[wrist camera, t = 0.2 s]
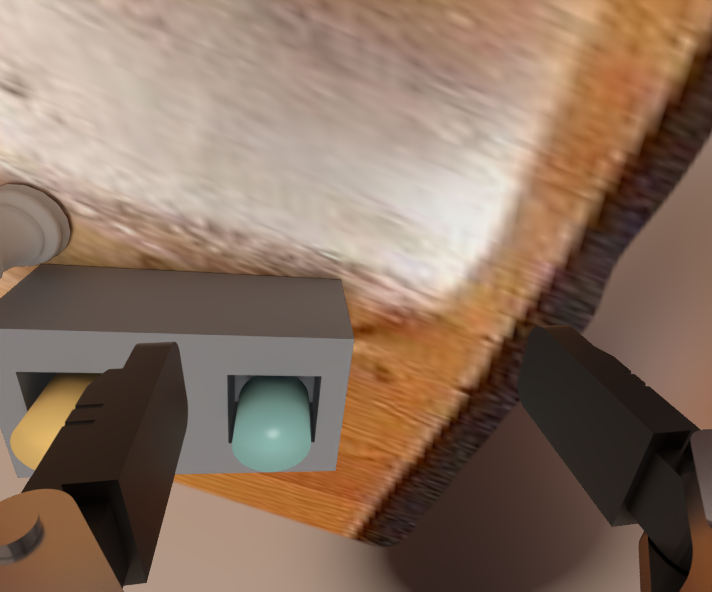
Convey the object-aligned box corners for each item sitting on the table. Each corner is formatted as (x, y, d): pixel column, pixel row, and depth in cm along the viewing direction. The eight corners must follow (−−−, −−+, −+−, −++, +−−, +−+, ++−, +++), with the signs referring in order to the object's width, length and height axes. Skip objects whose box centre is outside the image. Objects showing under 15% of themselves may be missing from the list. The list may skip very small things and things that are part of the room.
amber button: (39, 367, 23) (0, 416, 20) (122, 368, 23) (97, 416, 20) (54, 425, 25) (21, 477, 22) (131, 424, 25) (109, 475, 22)
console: (41, 264, 26) (-35, 327, 20) (341, 279, 29) (354, 339, 23) (71, 393, 31) (17, 477, 25) (327, 395, 34) (335, 470, 28)
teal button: (238, 370, 24) (231, 415, 21) (311, 372, 25) (313, 416, 22) (238, 424, 26) (232, 472, 23) (306, 424, 27) (308, 471, 24)
